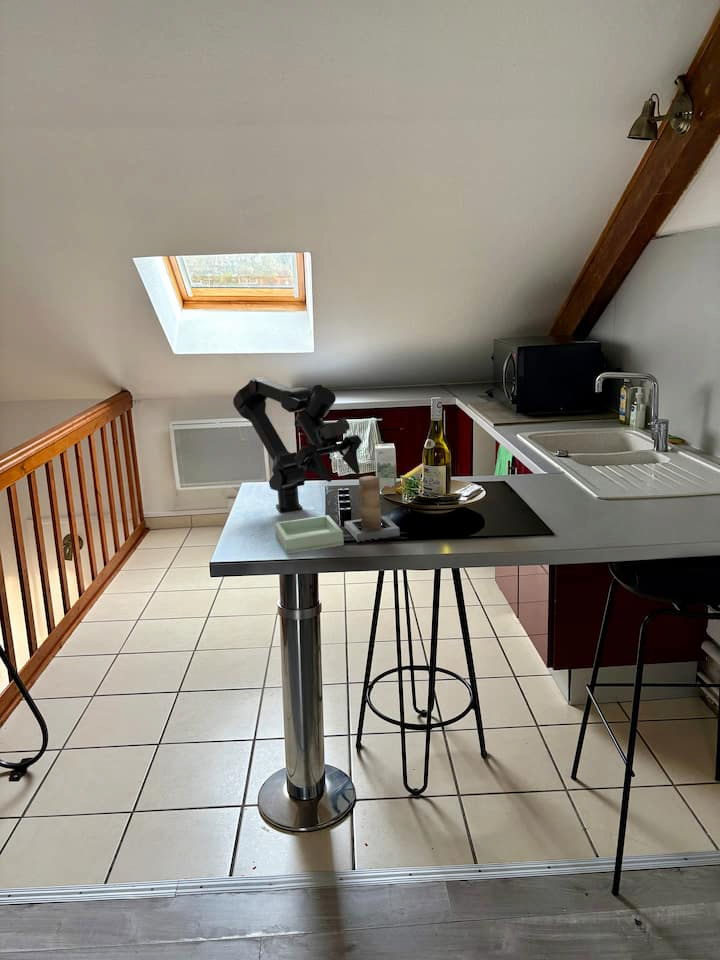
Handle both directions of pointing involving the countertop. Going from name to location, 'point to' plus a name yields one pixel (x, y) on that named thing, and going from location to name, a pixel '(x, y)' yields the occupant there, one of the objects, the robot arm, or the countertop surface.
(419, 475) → the candy box
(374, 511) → the lock pin
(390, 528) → the steel collar
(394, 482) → the syrup box
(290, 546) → the tray
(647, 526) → the countertop surface
